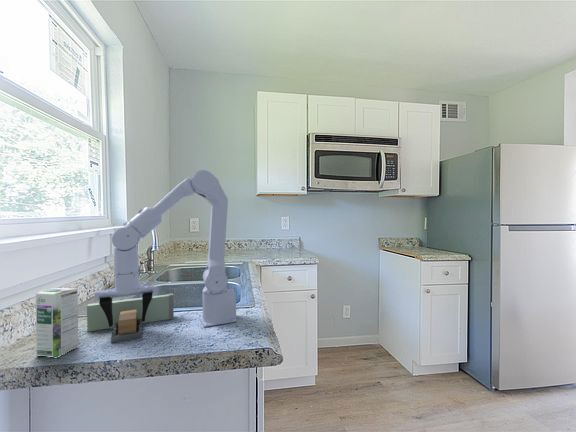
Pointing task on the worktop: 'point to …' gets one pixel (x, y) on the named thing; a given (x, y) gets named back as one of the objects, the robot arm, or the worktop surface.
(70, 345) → the syrup box
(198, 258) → the worktop surface
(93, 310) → the door panel
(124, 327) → the bar
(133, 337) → the socket
